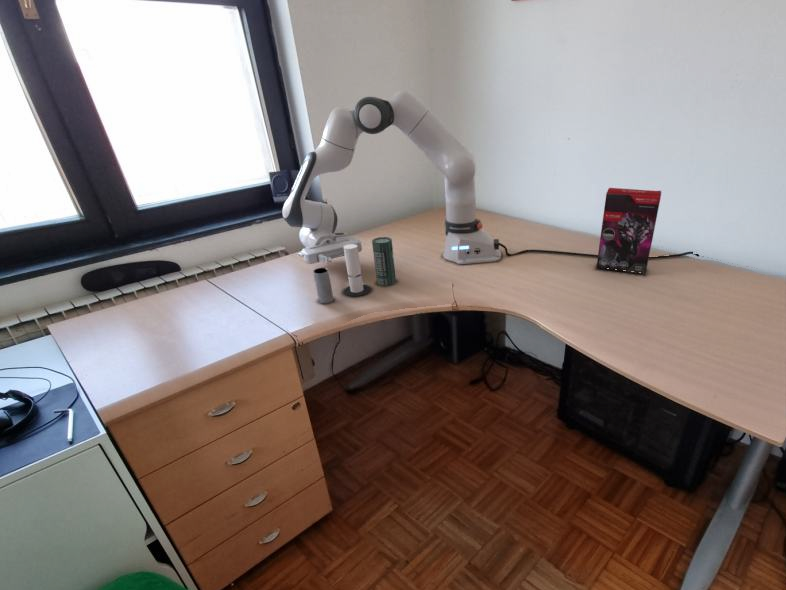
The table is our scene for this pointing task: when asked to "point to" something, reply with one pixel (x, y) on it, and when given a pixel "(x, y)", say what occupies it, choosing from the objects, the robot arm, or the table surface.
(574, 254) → the robot arm
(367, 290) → the slate coaster
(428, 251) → the table surface
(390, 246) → the can
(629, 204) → the graphics card box
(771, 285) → the table surface
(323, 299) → the grey hollow cylinder
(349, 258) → the tube
